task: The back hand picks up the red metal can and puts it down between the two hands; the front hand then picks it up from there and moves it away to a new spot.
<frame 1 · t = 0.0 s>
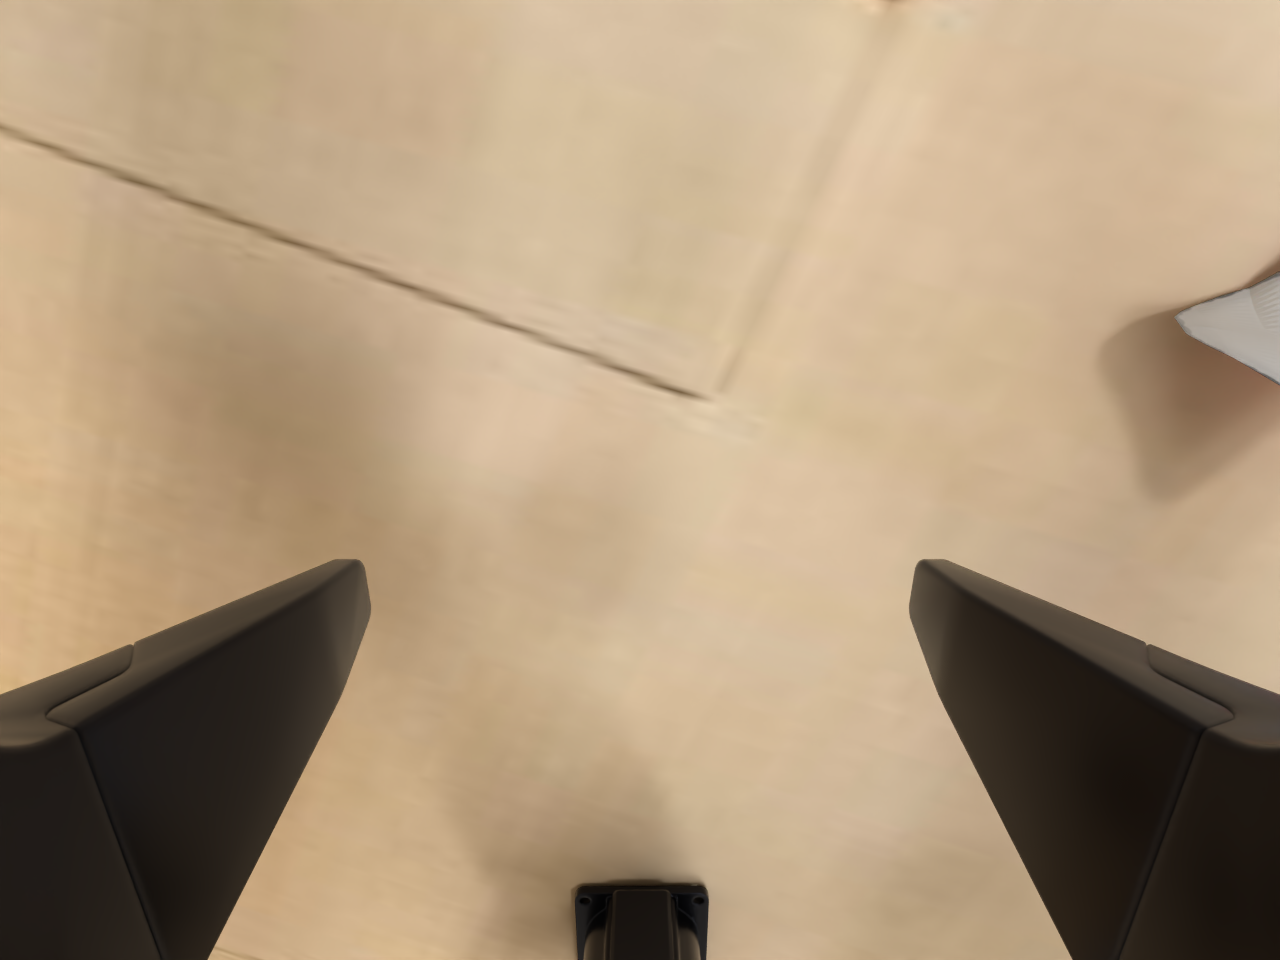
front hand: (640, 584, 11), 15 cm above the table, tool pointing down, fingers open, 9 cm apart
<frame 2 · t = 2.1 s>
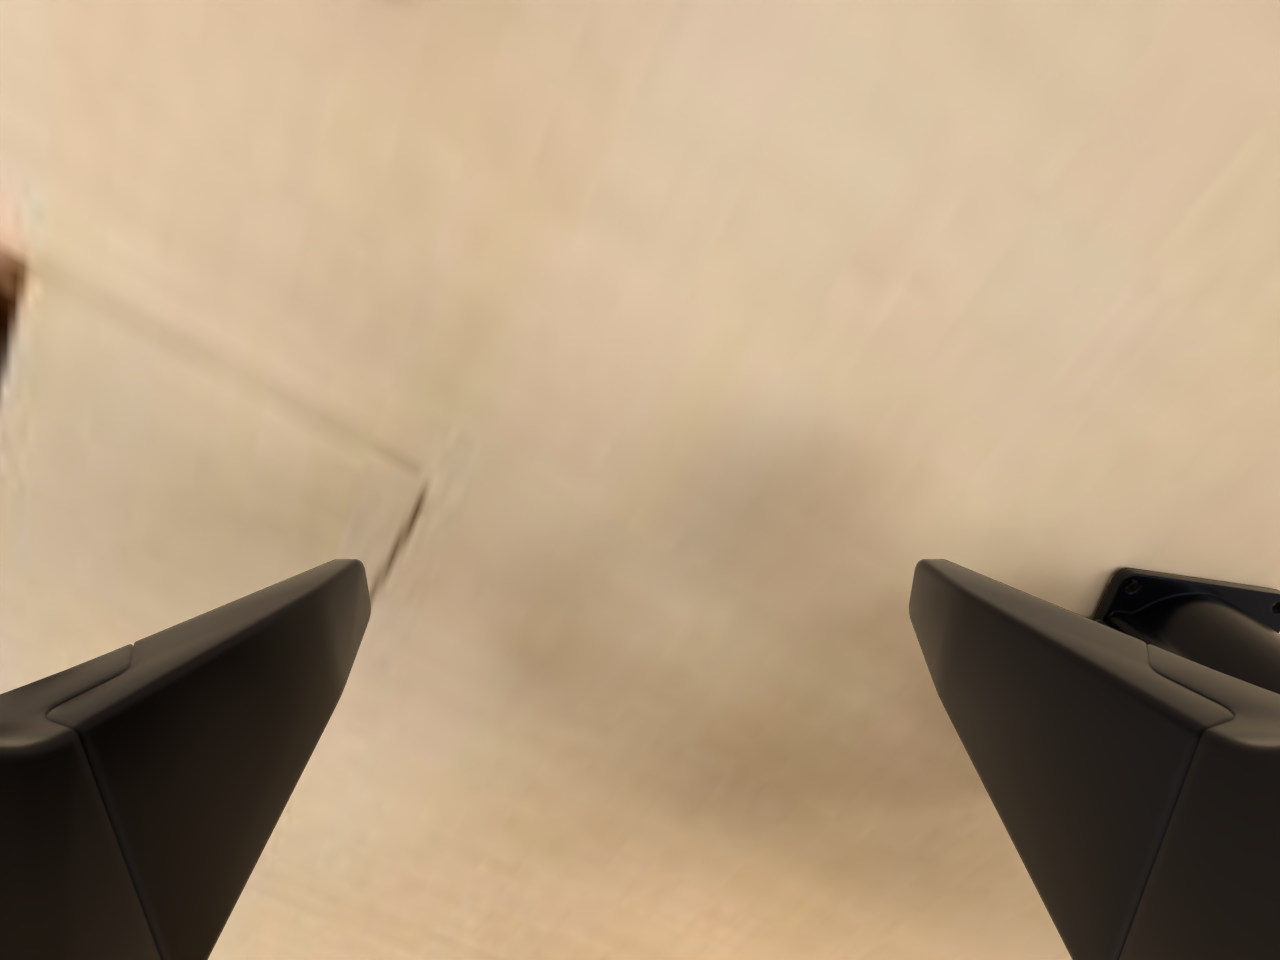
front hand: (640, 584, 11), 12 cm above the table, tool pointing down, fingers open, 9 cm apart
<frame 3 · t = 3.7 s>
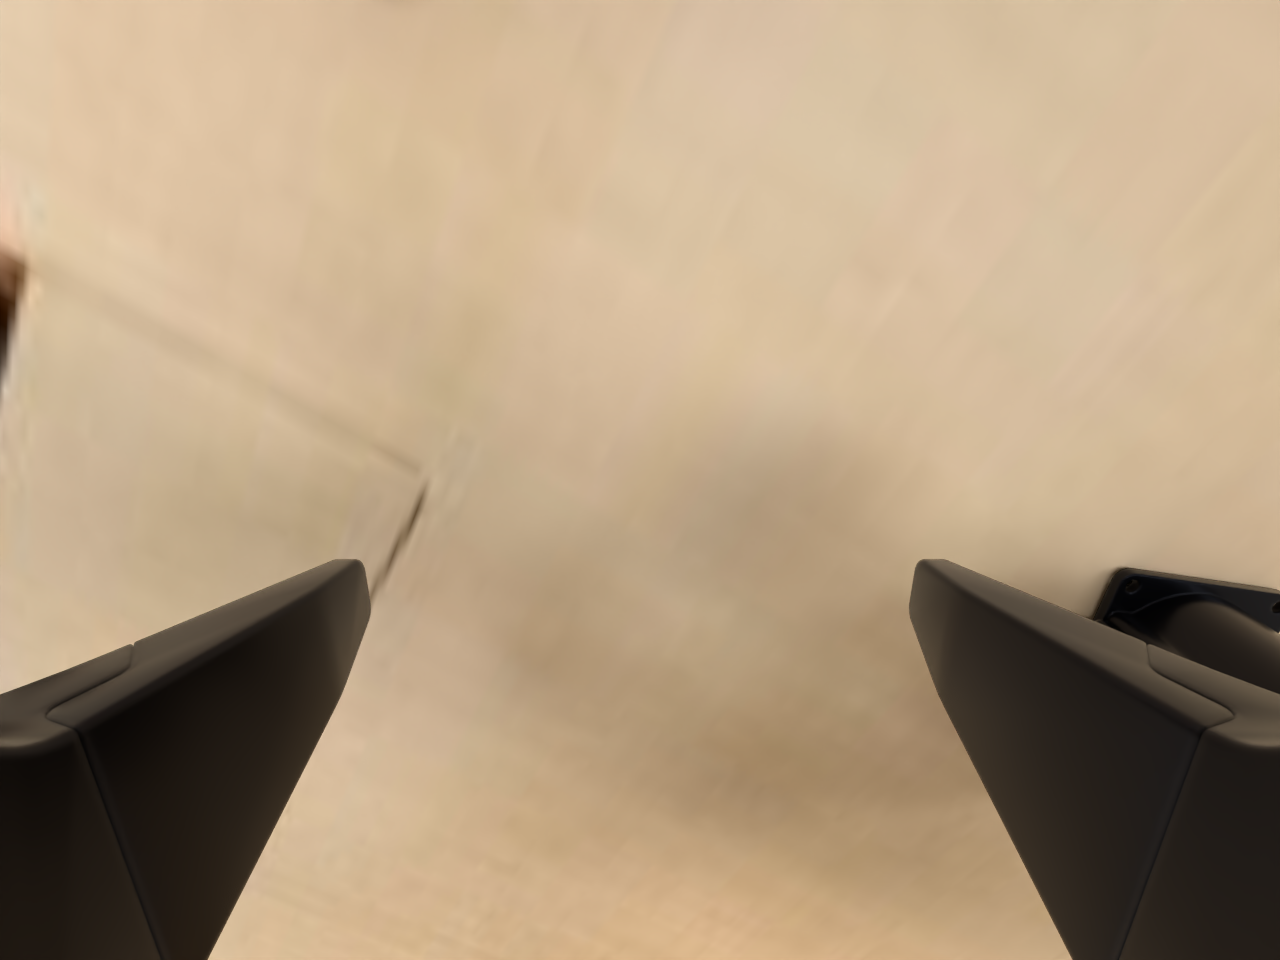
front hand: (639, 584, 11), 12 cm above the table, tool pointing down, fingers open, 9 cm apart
when the back hand's fingers open (2 cm above the table, at t = 5.5 s): can drops 1 cm, on the table.
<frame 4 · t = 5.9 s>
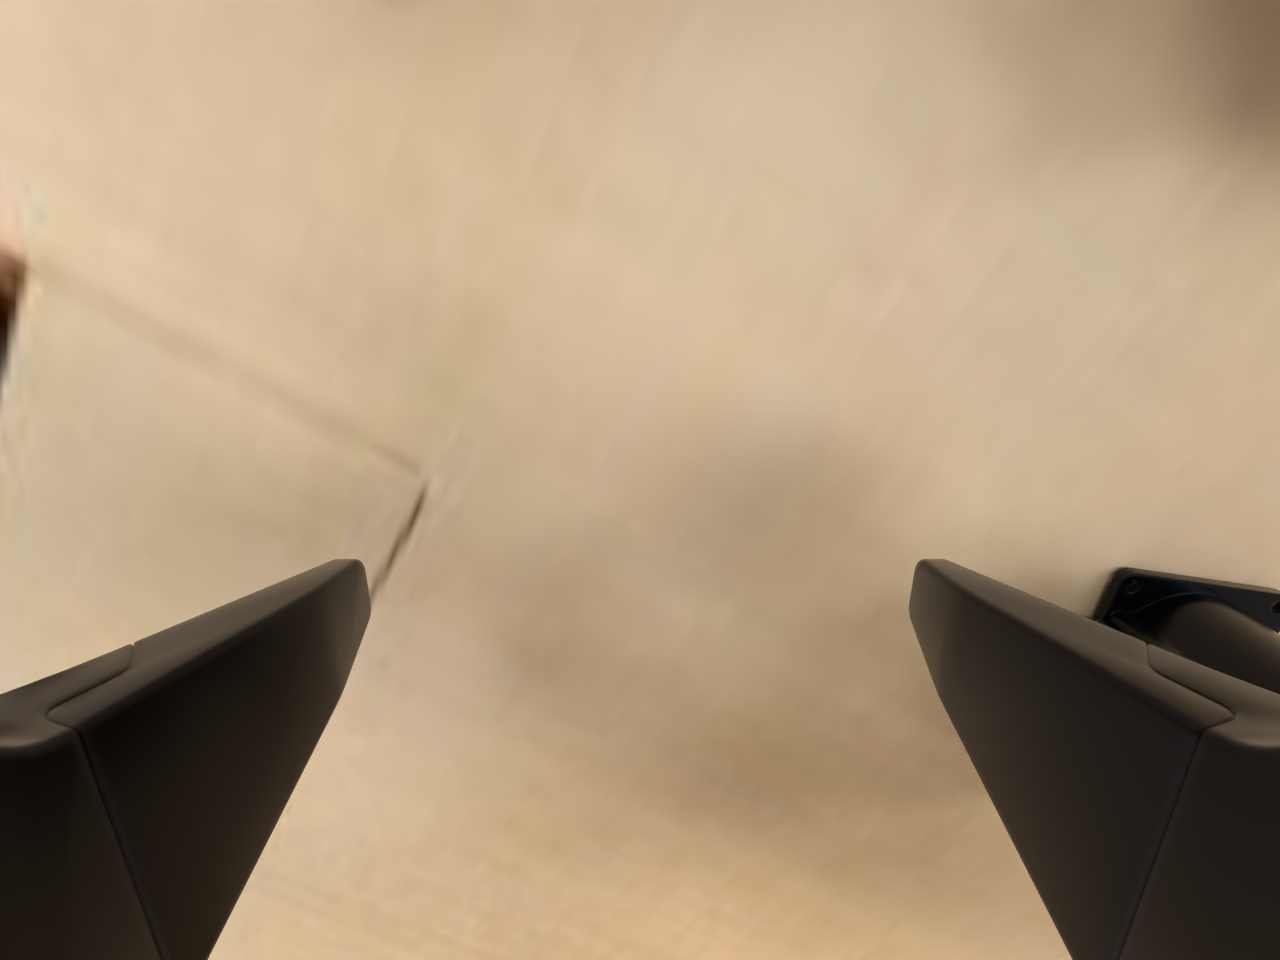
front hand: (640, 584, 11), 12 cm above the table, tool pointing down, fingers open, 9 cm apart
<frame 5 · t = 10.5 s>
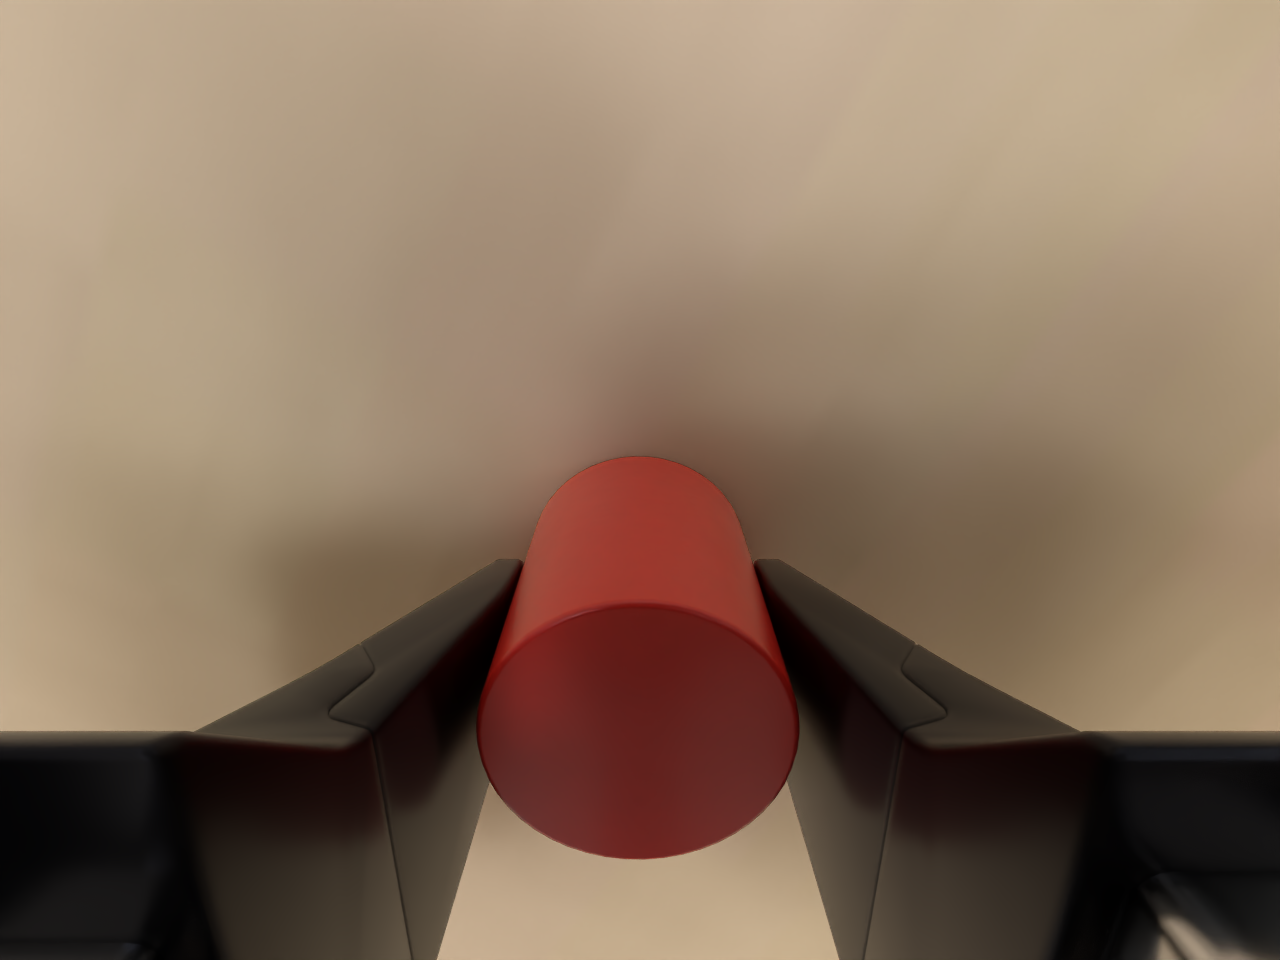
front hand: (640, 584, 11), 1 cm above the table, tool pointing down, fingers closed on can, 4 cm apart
can: (638, 554, 12), on the table, touching front hand
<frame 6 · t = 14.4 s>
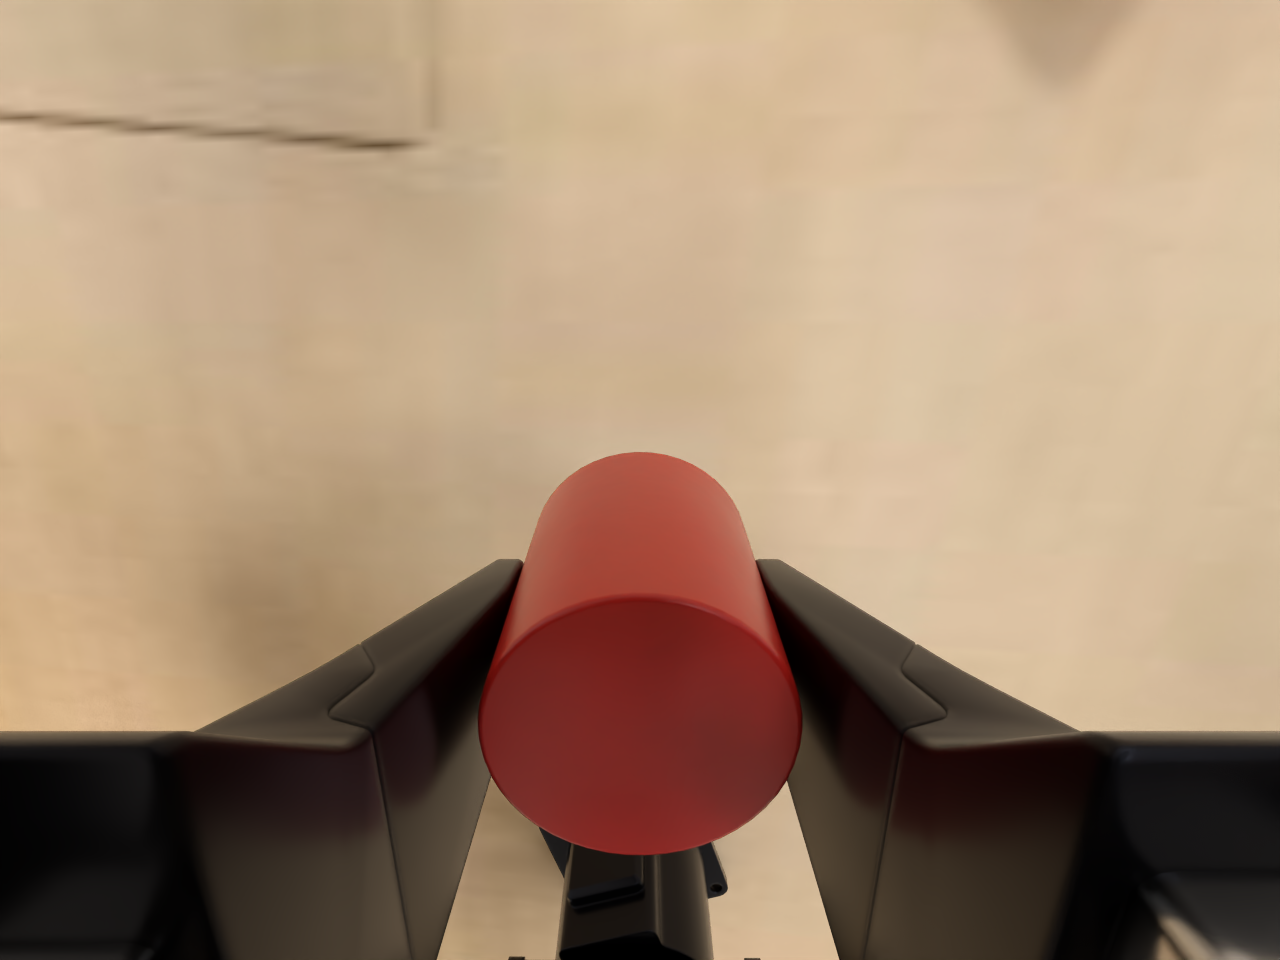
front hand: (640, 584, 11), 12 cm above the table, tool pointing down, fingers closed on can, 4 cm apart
can: (640, 550, 12), point 11 cm above the table, touching front hand
when the front hand's fingers open (2 cm above the table, at t = 18.2 s): can drops 1 cm, on the table.
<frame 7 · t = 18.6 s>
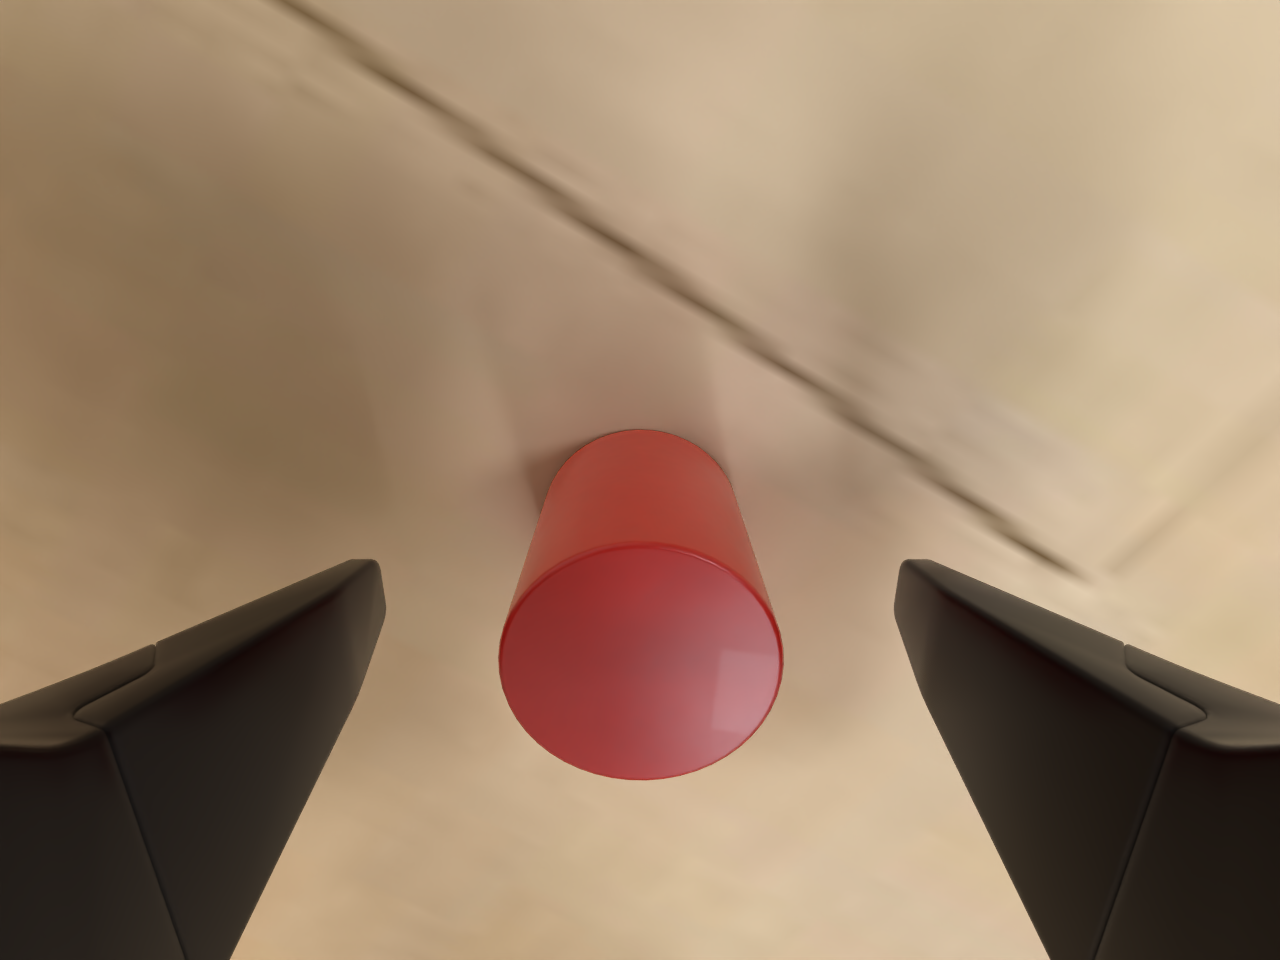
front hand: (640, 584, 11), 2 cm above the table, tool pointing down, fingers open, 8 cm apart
can: (640, 521, 13), on the table
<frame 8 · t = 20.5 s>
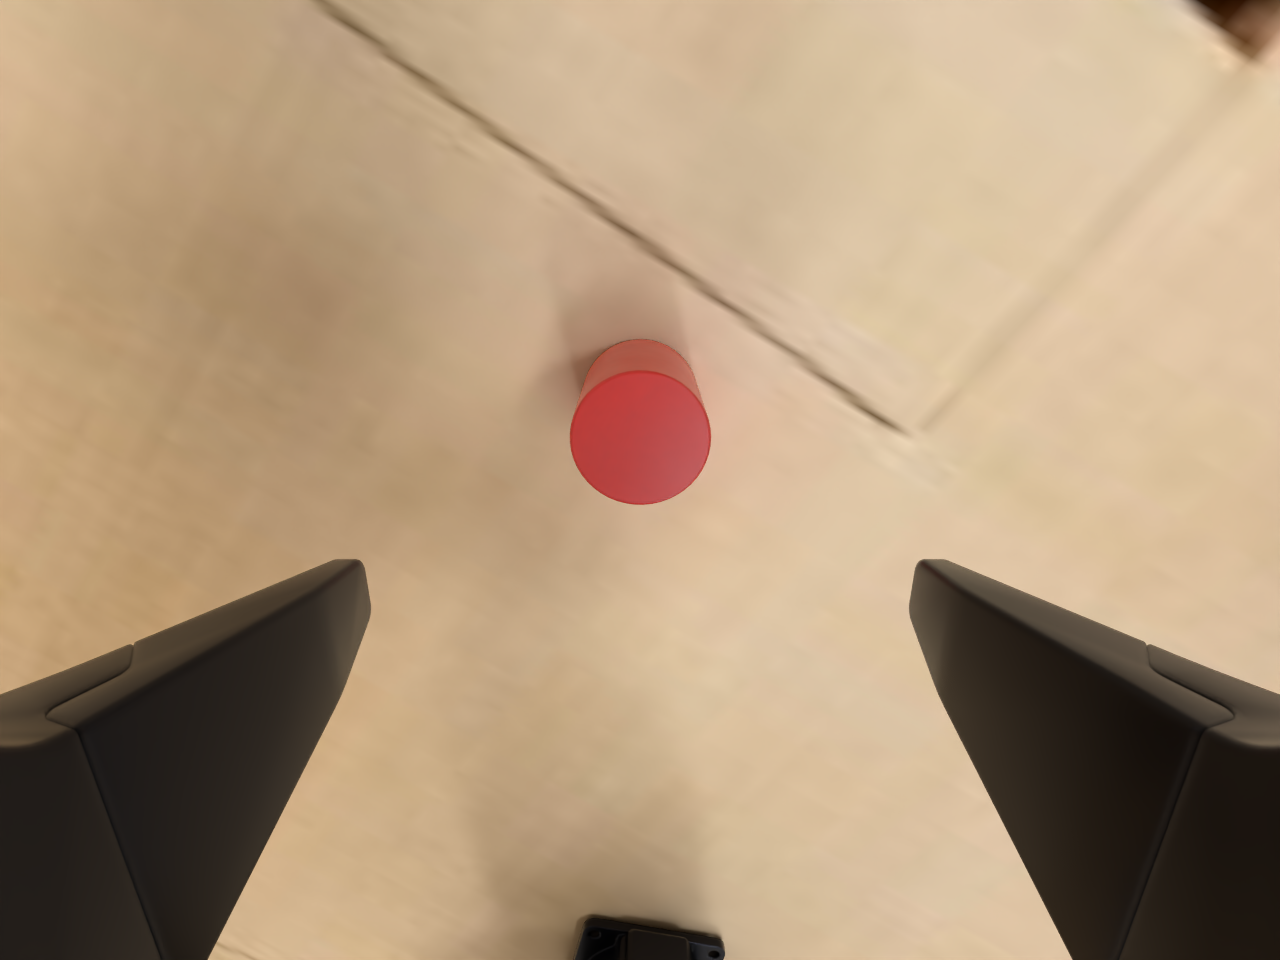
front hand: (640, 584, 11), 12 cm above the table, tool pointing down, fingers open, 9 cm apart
can: (640, 396, 22), on the table
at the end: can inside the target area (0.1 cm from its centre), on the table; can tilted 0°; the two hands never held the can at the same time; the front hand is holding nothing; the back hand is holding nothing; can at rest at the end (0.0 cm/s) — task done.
